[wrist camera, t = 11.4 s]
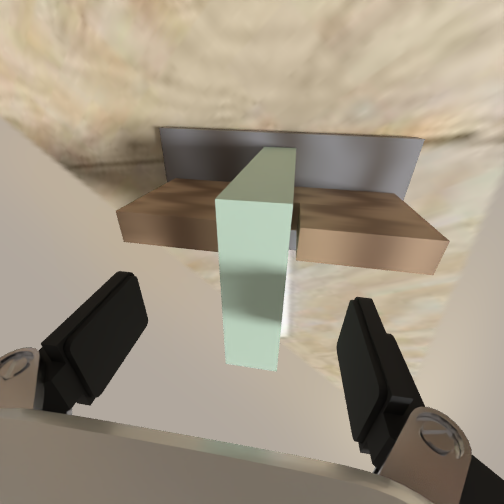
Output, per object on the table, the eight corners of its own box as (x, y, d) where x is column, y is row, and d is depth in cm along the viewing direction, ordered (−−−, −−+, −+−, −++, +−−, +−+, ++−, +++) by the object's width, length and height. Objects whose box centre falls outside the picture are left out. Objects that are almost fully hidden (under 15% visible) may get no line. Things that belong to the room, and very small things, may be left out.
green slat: (261, 240, 28) (225, 363, 15) (264, 146, 23) (214, 198, 10) (287, 243, 28) (276, 371, 14) (296, 147, 23) (293, 203, 9)
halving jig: (180, 232, 31) (126, 288, 21) (166, 127, 25) (81, 137, 15) (379, 252, 28) (422, 328, 18) (417, 137, 22) (512, 159, 12)
